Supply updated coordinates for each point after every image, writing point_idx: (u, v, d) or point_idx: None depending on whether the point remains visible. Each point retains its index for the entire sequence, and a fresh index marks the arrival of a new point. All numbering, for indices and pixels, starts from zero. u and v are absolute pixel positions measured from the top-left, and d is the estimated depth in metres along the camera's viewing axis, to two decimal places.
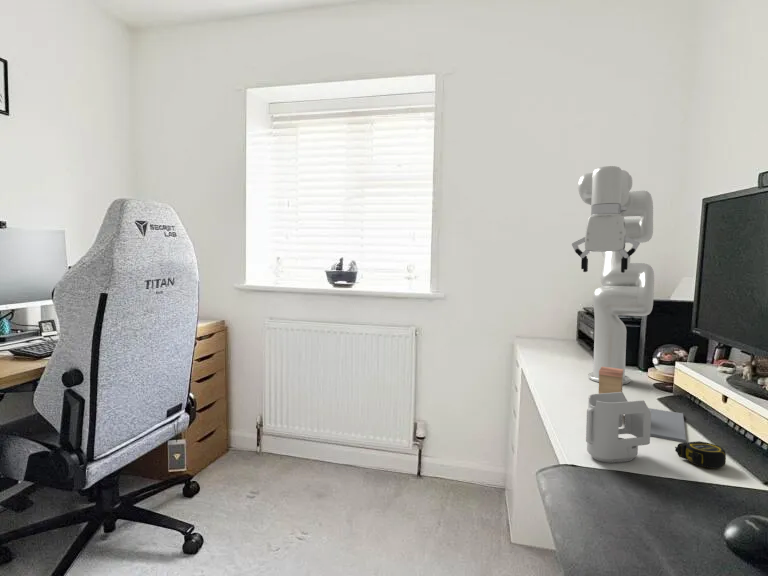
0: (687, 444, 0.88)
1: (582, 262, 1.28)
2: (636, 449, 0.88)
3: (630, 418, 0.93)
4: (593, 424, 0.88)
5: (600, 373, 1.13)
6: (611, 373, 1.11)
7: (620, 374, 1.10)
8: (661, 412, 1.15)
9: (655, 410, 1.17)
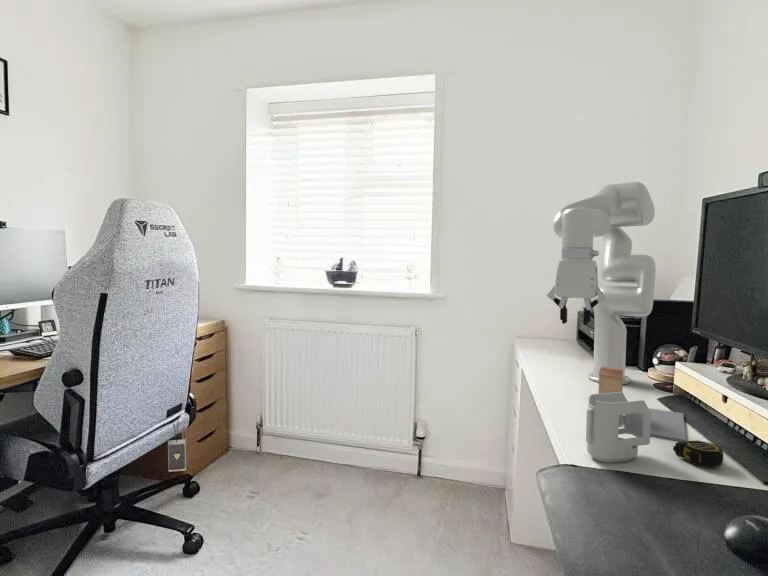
0: (685, 443, 0.89)
1: (561, 313, 1.19)
2: (636, 449, 0.88)
3: (630, 418, 0.93)
4: (593, 424, 0.88)
5: (600, 373, 1.13)
6: (611, 373, 1.11)
7: (620, 374, 1.10)
8: (661, 412, 1.15)
9: (655, 410, 1.17)
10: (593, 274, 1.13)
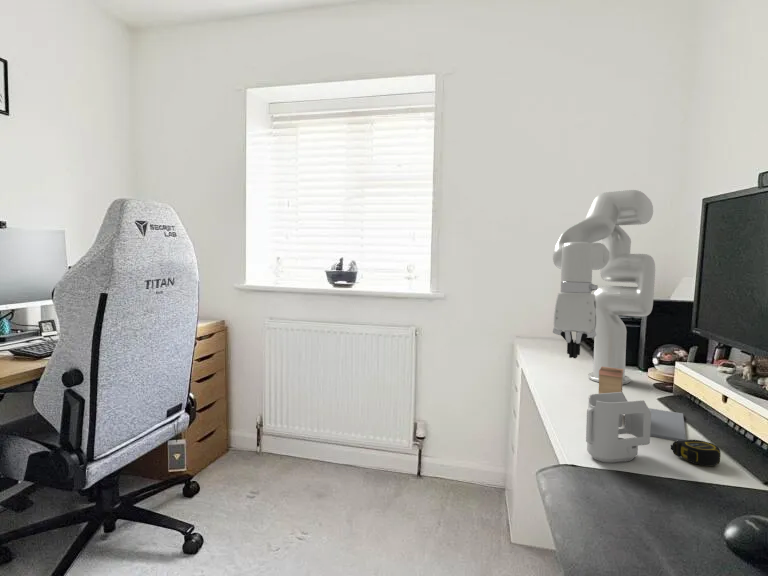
0: (682, 442, 0.89)
1: (568, 347, 1.18)
2: (636, 449, 0.88)
3: (630, 418, 0.93)
4: (593, 424, 0.88)
5: (600, 373, 1.13)
6: (611, 373, 1.11)
7: (620, 374, 1.10)
8: (661, 412, 1.15)
9: (655, 410, 1.17)
10: (592, 308, 1.13)
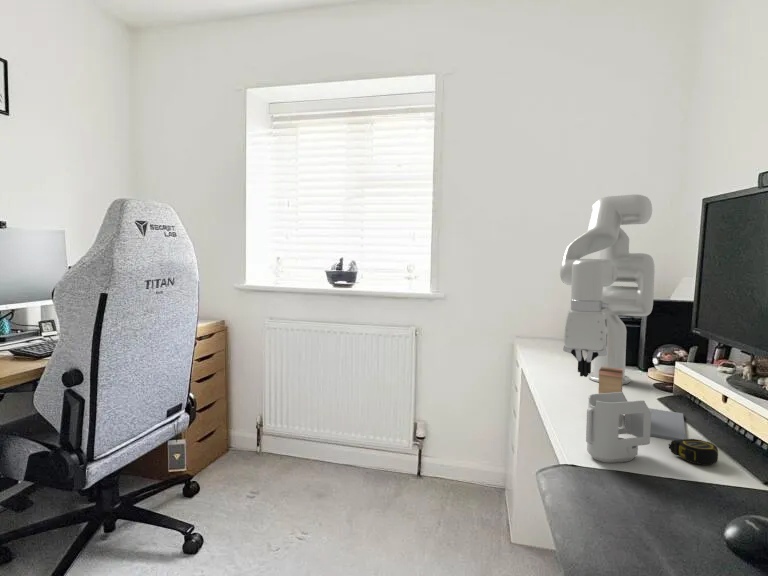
0: (680, 441, 0.90)
1: (579, 365, 1.17)
2: (636, 449, 0.88)
3: (630, 418, 0.93)
4: (593, 424, 0.88)
5: (600, 373, 1.13)
6: (611, 373, 1.11)
7: (620, 374, 1.10)
8: (661, 412, 1.15)
9: (655, 410, 1.17)
10: (603, 327, 1.12)
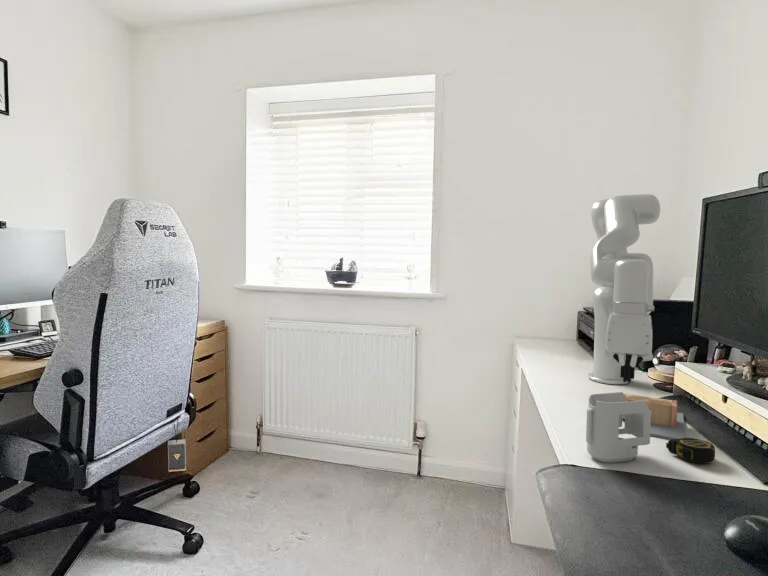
0: (677, 440, 0.90)
1: (621, 370, 1.12)
2: (636, 449, 0.88)
3: (630, 418, 0.93)
4: (593, 424, 0.88)
5: (673, 407, 1.05)
6: (674, 417, 1.05)
7: (674, 426, 1.05)
8: None
9: None
10: (649, 331, 1.07)
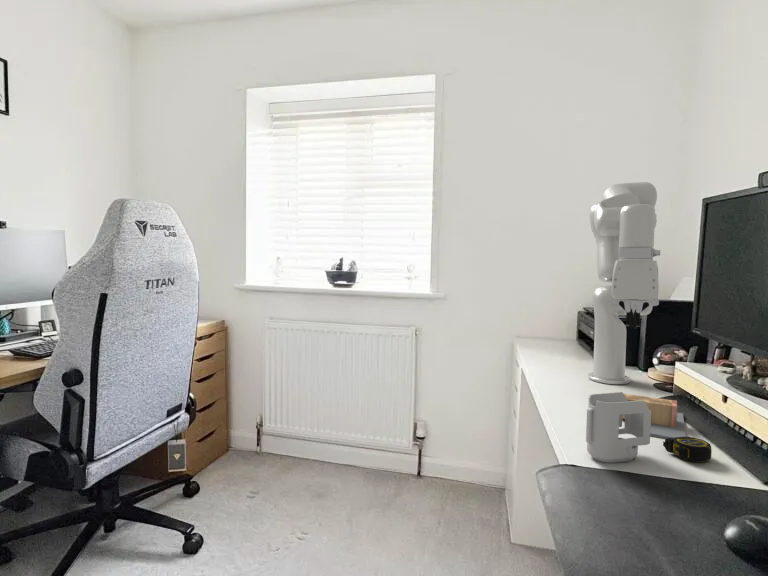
0: (674, 439, 0.91)
1: (627, 317, 1.11)
2: (636, 449, 0.88)
3: (630, 418, 0.93)
4: (593, 424, 0.88)
5: (673, 407, 1.05)
6: (674, 417, 1.05)
7: (674, 426, 1.05)
8: None
9: None
10: (655, 275, 1.06)
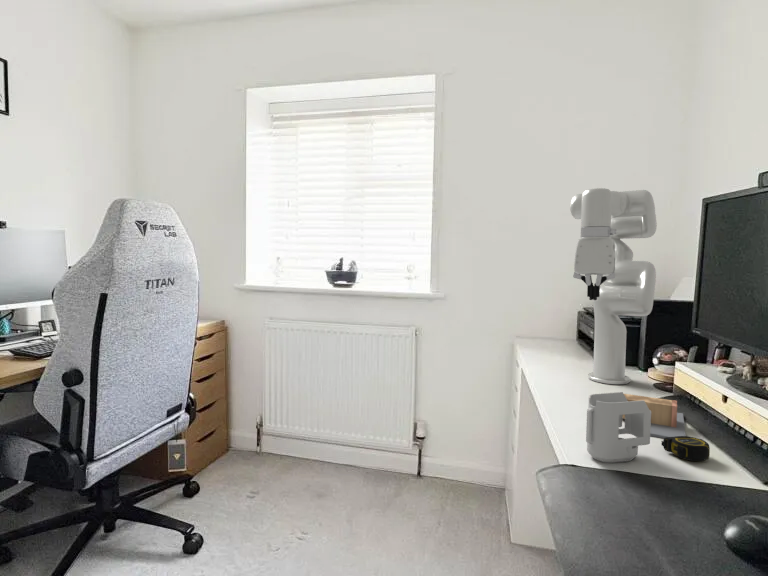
0: (673, 438, 0.91)
1: (588, 290, 1.24)
2: (636, 449, 0.88)
3: (630, 418, 0.93)
4: (593, 424, 0.88)
5: (673, 407, 1.05)
6: (674, 417, 1.05)
7: (674, 426, 1.05)
8: None
9: None
10: (611, 251, 1.19)
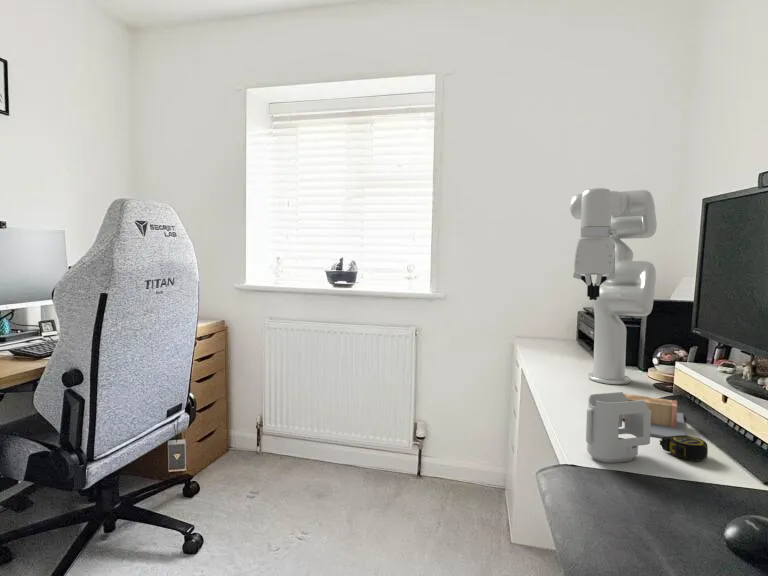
0: (671, 437, 0.92)
1: (588, 289, 1.24)
2: (636, 449, 0.88)
3: (630, 418, 0.93)
4: (593, 424, 0.88)
5: (673, 407, 1.05)
6: (674, 417, 1.05)
7: (674, 426, 1.05)
8: None
9: None
10: (611, 251, 1.19)
